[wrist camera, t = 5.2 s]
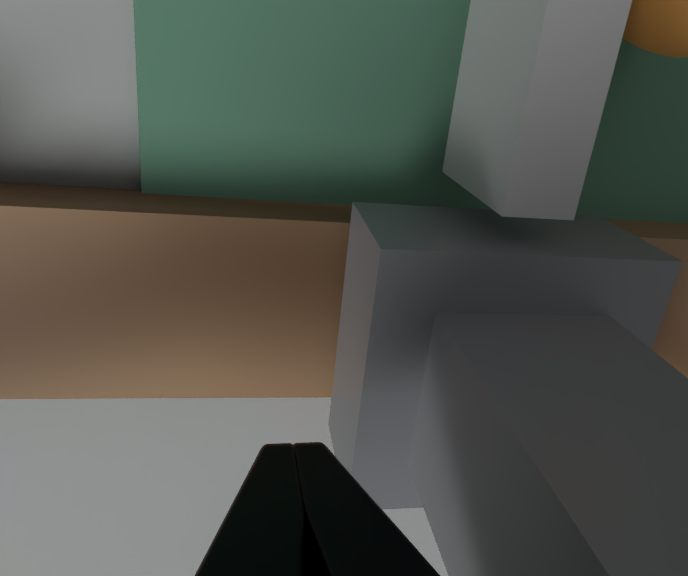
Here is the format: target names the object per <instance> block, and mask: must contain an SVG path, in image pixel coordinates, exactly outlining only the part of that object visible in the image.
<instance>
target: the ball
mask: <svg viewBox="0 0 688 576" xmlns="http://www.w3.org/2000/svg"><path fill="white" fill-rule="evenodd" d="M622 38H623V39H625V40H626V41H628V42H630V43H631V44H633V45H635V46H637V47H639V48H641V49H643V50H646V51H649V52H652V53H655V54H659V55H664V56H669V57H675V58H688V0H632V3H631V7H630V11H629V15H628V18H627V22H626V26H625V30H624V33H623V37H622Z"/></svg>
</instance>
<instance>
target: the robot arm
mask: <svg viewBox="0 0 688 576" xmlns="http://www.w3.org/2000/svg"><path fill="white" fill-rule="evenodd" d="M195 576H440V575H439V574H438V573H437V572H436V571H435V569H434V568H433V567H432V566H431V565H430V564H429V563H428V561H427V560H426V559H425V558H424V557H423V556H422V555H421V554H420V552H419V551H418V550H417V549H416V548H415V547H414V546H413V544H412V543H411V542H410V541H409V540H408V539H407V538H406V536H405V535H404V534H403V533H402V532H401V531H400V530H399V529H398V527H397V526H396V525H395V524H394V523H393V522H392V521H391V519H390V518H389V517H388V516H387V515H386V514H385V513H384V511H383V510H382V509H381V508H380V507H379V506H378V505H377V504H376V502H375V501H374V500H373V499H372V498H371V497H370V496H369V494H368V493H367V492H366V491H365V490H364V489H363V488H362V486H361V485H360V484H359V483H358V482H357V481H356V480H355V478H354V477H353V476H352V475H351V474H350V473H349V472H348V471H347V469H346V468H345V467H344V466H343V465H342V464H341V463H340V461H339V460H338V459H337V458H336V457H335V456H334V455H333V453H332V452H331V451H330V450H329V449H328V448H327V447H326V446H325V445H324V444H323V443H320V442H310V443H295V444H294V445H293V444H291V443H281V444H266V445H264V446H263V447H262V448H261V450H260V452H259V453H258V455H257V457H256V459H255V461H254V463H253V465H252V467H251V469H250V471H249V473H248V475H247V476H246V478H245V480H244V482H243V484H242V486H241V488H240V490H239V492H238V494H237V496H236V498H235V499H234V501H233V503H232V505H231V507H230V509H229V511H228V513H227V515H226V517H225V519H224V521H223V522H222V524H221V526H220V528H219V530H218V532H217V534H216V536H215V538H214V540H213V542H212V544H211V545H210V547H209V549H208V551H207V553H206V555H205V557H204V559H203V561H202V563H201V565H200V567H199V568H198V570H197V572H196V574H195Z"/></svg>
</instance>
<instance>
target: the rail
mask: <svg viewBox="0 0 688 576" xmlns="http://www.w3.org/2000/svg"><path fill="white" fill-rule="evenodd" d="M351 211H352V205H345V204H327V203H309V202H291V201H273V200H255V199H237V198H218V197H200V196H182V195H164V194H146V193H141V191H140V190H122V189H104V188H86V187H68V186H50V185H33V184H15V183H0V399H70V398H270V397H332V388H333V379H334V370H335V360H336V351H337V342H338V332H339V323H340V314H341V304H342V295H343V286H344V276H345V267H346V258H347V249H348V239H349V230H350V221H351ZM605 220H607V221H609V222H611V223H613V224H615V225H616V226H618V227H620V228H622V229H624V230H626V231H627V232H629V233H631V234H633V235H635V236H637V237H639V238H640V239H642V240H644V241H646V242H648V243H650V244H651V245H653V246H655V247H657V248H659V249H661V250H663V251H664V252H666V253H668V254H670V255H672V256H674V257H675V258H677V259H679V260H681V261H683V263H682V266H681V269H680V272H679V275H678V277H677V280H676V283H675V286H674V289H673V292H672V294H671V297H670V300H669V303H668V306H667V308H666V311H665V314H664V317H663V320H662V323H661V325H660V328H659V331H658V334H657V337H656V339H655V342H654V345H653V348H652V350H653V351H654V352H655V353H656V354H658V355H659V356H660V357H661V358H663V359H664V360H665V361H666V362H668V363H669V364H670V365H671V366H673V367H674V368H675V369H676V370H678V371H679V372H680V373H681V374H683V375H684V376H685V377H686V378H688V223H671V222H653V221H635V220H617V219H605Z"/></svg>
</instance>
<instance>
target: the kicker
mask: <svg viewBox="0 0 688 576" xmlns="http://www.w3.org/2000/svg"><path fill="white" fill-rule="evenodd" d="M631 3H632V0H471V2H470V8H469V14H468V20H467V26H466V32H465V38H464V44H463V50H462V56H461V62H460V68H459V74H458V80H457V86H456V92H455V98H454V104H453V110H452V116H451V122H450V128H449V134H448V140H447V146H446V152H445V158H444V164H443V170H442V172H443V173H445V174H446V175H447V176H449V177H450V178H451V179H453V180H454V181H455V182H457V183H458V184H459V185H461V186H462V187H463V188H465V189H466V190H467V191H469V192H470V193H471V194H473V195H474V196H475V197H477V198H478V199H479V200H481V201H482V202H483V203H485V204H486V205H487V206H489V207H490V208H491V209H493V210H488V209H470V208H453V207H435V206H417V205H399V204H381V203H364V202H352V211H351V221H350V230H349V239H348V249H347V258H346V267H345V276H344V286H343V295H342V304H341V314H340V323H339V332H338V342H337V351H336V360H335V370H334V379H333V388H332V397H331V407H330V416H329V429H330V433H331V438H332V443H333V448H334V453H335V457H336V458H337V459H338V460H339V461H340V463H341V464H342V465H343V466H344V467H345V468H346V469H347V471H348V472H349V473H350V474H351V475H352V476H353V477H354V478H355V480H356V481H357V482H358V483H359V484H360V485H361V486H362V488H363V489H364V490H365V491H366V492H367V493H368V494H369V496H370V497H371V498H372V499H373V500H374V501H375V502H376V504H377V505H378V506H379V507H380V508H381V509H396V508H421V507H424V510H425V513H426V515H427V518H428V521H429V524H430V526H431V529H432V532H433V534H434V537H435V540H436V543H437V545H438V548H439V551H440V553H441V556H442V559H443V562H444V564H445V567H446V570H447V572H448V575H449V576H688V378H686V377H685V376H684V375H683V374H681V373H680V372H679V371H678V370H676V369H675V368H674V367H673V366H671V365H670V364H669V363H668V362H666V361H665V360H664V359H663V358H661V357H660V356H659V355H658V354H656V353H655V352H654V351H653V350H652V348H653V345H654V342H655V339H656V337H657V334H658V331H659V328H660V325H661V323H662V320H663V317H664V314H665V311H666V308H667V306H668V303H669V300H670V297H671V294H672V292H673V289H674V286H675V283H676V280H677V277H678V275H679V272H680V269H681V266H682V263H683V261H681V260H679V259H677V258H675V257H674V256H672V255H670V254H668V253H666V252H664V251H663V250H661V249H659V248H657V247H655V246H653V245H651V244H650V243H648V242H646V241H644V240H642V239H640V238H639V237H637V236H635V235H633V234H631V233H629V232H627V231H626V230H624V229H622V228H620V227H618V226H616V225H615V224H613V223H611V222H609V221H607V220H605V219H603V218H602V217H600V216H595V215H577V214H576V210H577V206H578V202H579V199H580V195H581V191H582V187H583V184H584V180H585V176H586V172H587V169H588V165H589V161H590V157H591V154H592V150H593V146H594V142H595V139H596V135H597V131H598V127H599V124H600V120H601V116H602V112H603V109H604V105H605V101H606V97H607V94H608V90H609V86H610V82H611V79H612V75H613V71H614V67H615V63H616V60H617V56H618V52H619V48H620V45H621V41H622V37H623V33H624V30H625V26H626V22H627V18H628V15H629V11H630V7H631Z"/></svg>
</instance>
